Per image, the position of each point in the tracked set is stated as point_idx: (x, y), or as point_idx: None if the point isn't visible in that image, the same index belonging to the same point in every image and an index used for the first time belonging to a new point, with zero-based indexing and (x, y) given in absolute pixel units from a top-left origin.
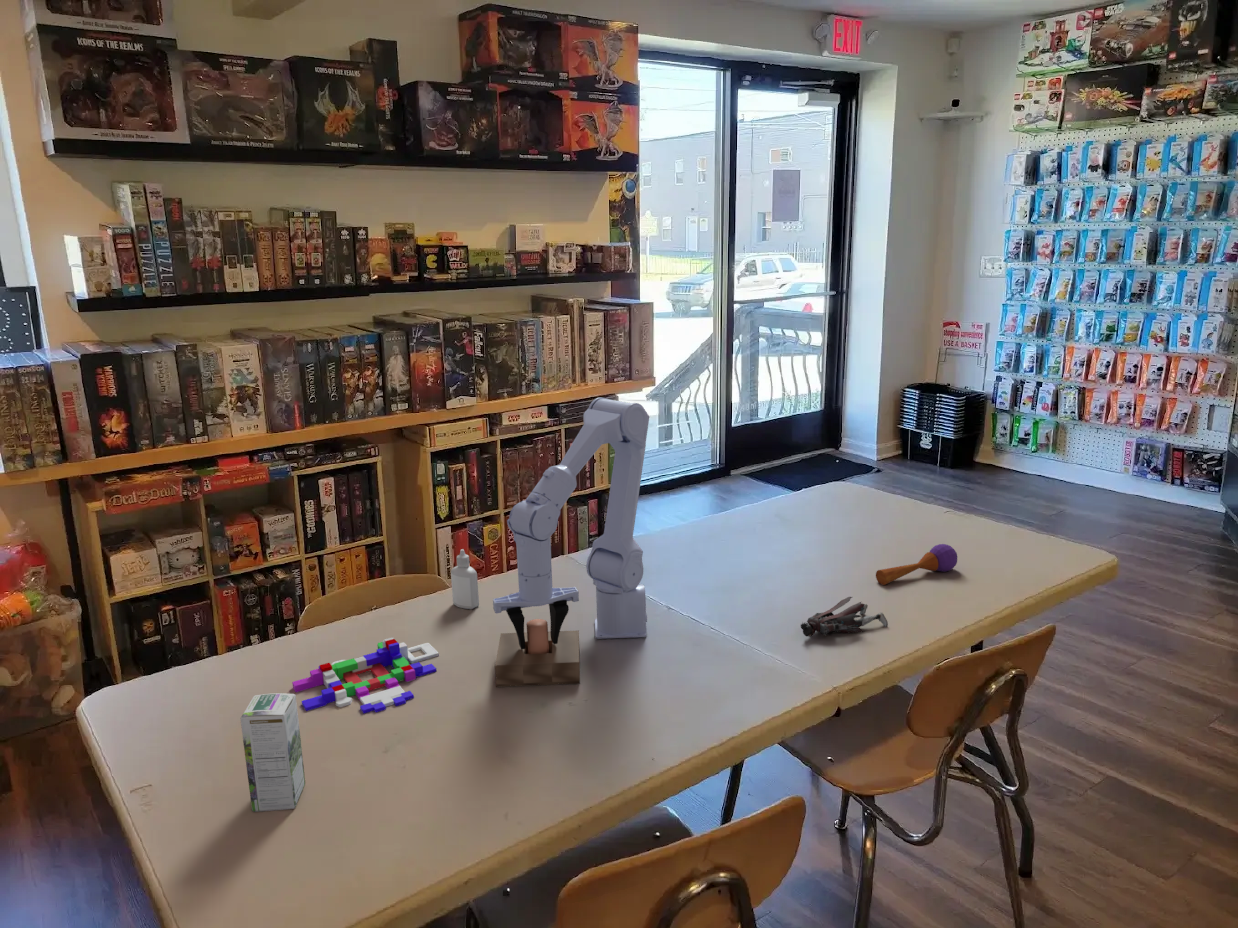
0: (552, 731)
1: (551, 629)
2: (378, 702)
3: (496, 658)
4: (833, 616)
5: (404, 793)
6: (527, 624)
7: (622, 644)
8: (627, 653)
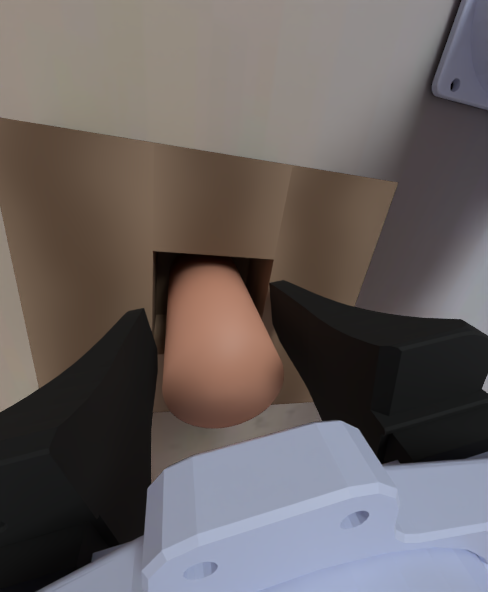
0: None
1: (288, 312)
2: None
3: (38, 378)
4: None
5: None
6: (168, 392)
7: (477, 159)
8: (457, 224)
